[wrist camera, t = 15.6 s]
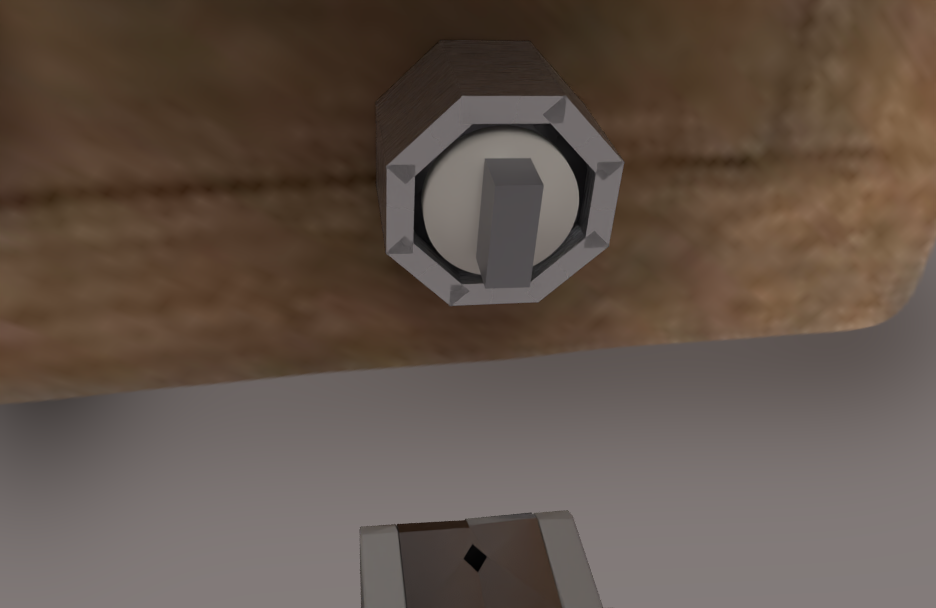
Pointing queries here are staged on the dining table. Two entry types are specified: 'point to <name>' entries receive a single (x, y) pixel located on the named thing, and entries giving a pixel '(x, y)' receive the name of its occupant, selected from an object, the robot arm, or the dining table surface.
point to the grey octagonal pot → (471, 108)
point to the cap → (499, 203)
